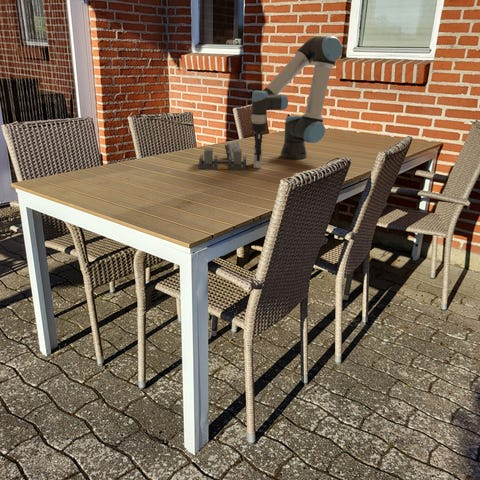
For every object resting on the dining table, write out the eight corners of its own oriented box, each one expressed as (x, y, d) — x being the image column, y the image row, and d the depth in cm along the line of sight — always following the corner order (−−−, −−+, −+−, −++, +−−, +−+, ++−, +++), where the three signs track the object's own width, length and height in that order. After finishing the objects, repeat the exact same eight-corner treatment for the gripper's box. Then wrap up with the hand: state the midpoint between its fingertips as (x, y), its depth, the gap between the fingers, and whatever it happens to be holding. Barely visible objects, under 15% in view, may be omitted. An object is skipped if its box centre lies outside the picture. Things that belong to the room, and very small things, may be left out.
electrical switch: (231, 160, 263) (230, 143, 260) (224, 159, 266) (223, 143, 263) (242, 157, 270) (241, 141, 267) (235, 157, 273) (234, 141, 270)
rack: (245, 164, 255) (246, 147, 251) (246, 170, 242) (246, 152, 239) (200, 163, 254) (200, 146, 251) (198, 169, 242) (198, 151, 238)
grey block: (260, 164, 254) (261, 148, 251) (261, 168, 247) (262, 150, 243) (253, 164, 254) (253, 147, 251) (253, 168, 247) (254, 150, 243)
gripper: (250, 119, 254) (249, 159, 261) (252, 126, 231) (250, 169, 239) (264, 119, 254) (263, 159, 262) (267, 126, 231) (265, 169, 239)
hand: (257, 164), depth 250 cm, fingers open, 12 cm apart
